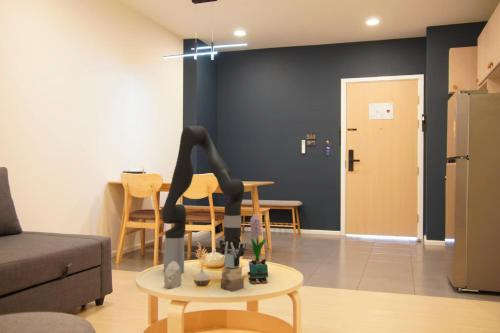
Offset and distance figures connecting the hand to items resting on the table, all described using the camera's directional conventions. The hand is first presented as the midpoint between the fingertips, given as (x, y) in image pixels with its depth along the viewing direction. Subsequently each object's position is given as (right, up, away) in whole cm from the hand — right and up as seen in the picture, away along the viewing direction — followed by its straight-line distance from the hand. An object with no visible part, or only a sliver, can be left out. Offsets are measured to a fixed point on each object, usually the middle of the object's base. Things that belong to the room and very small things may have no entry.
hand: (232, 265), depth 189 cm
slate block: (0, -1, 0) cm, 1 cm away
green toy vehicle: (+11, -10, +12) cm, 19 cm away
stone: (-26, -10, +2) cm, 28 cm away
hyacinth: (+12, -10, +19) cm, 25 cm away
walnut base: (0, -10, 0) cm, 10 cm away
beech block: (0, -6, 0) cm, 6 cm away
